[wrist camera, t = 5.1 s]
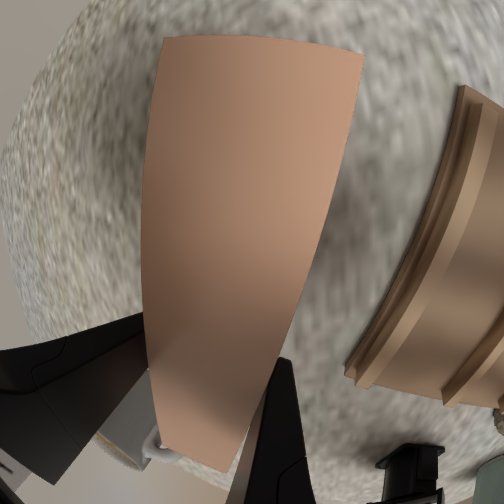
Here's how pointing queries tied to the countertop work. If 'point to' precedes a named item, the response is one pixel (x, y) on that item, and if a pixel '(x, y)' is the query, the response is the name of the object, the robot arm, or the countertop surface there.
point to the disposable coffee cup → (490, 482)
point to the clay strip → (233, 221)
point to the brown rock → (499, 421)
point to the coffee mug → (134, 430)
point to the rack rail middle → (475, 365)
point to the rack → (452, 283)
